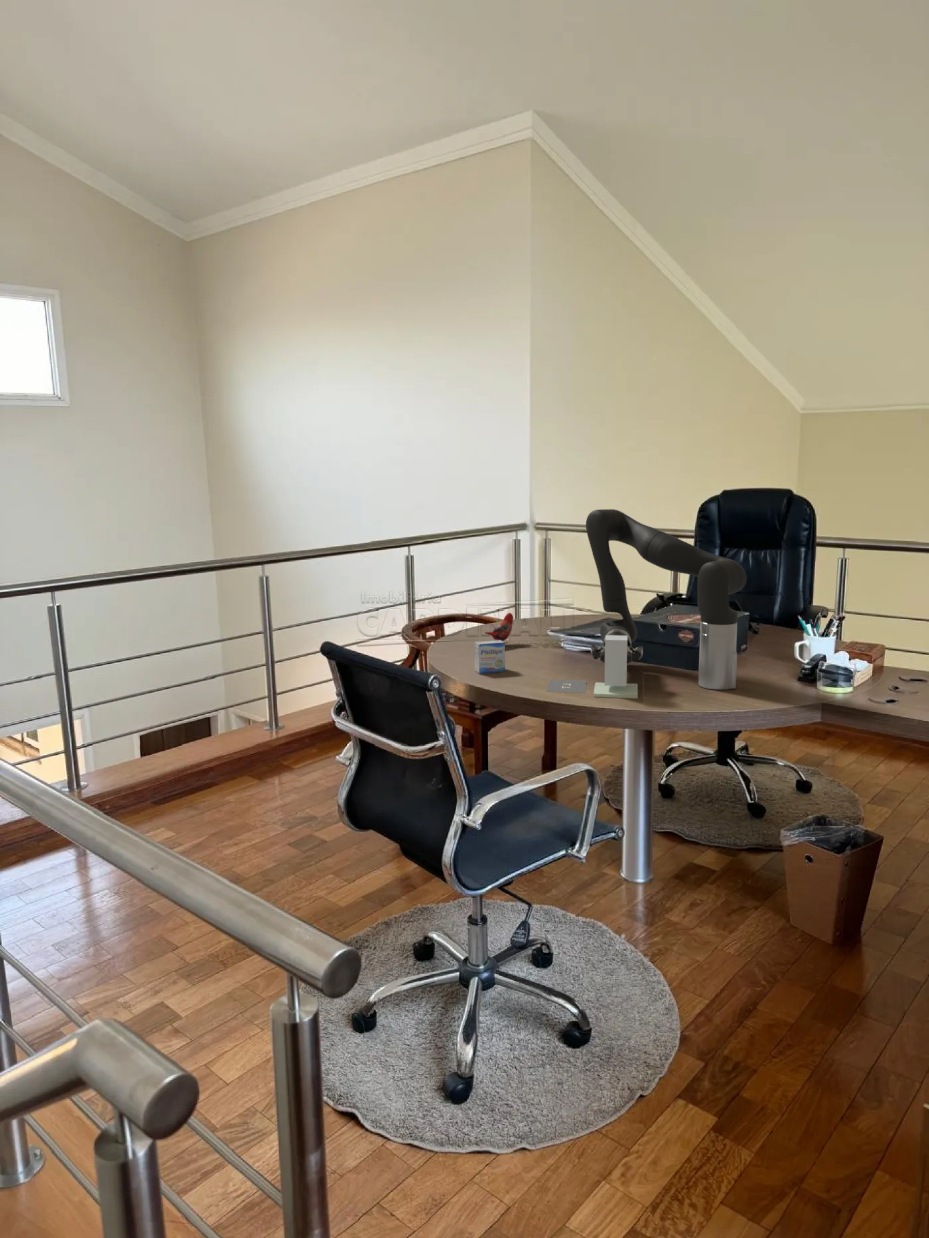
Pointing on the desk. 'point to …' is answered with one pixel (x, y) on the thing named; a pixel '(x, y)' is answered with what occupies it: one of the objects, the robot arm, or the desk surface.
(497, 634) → the decorative bird figurine
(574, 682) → the tile
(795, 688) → the desk surface
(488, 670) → the medicine box
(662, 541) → the robot arm
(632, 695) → the sage mat
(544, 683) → the desk surface
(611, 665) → the light grey block
